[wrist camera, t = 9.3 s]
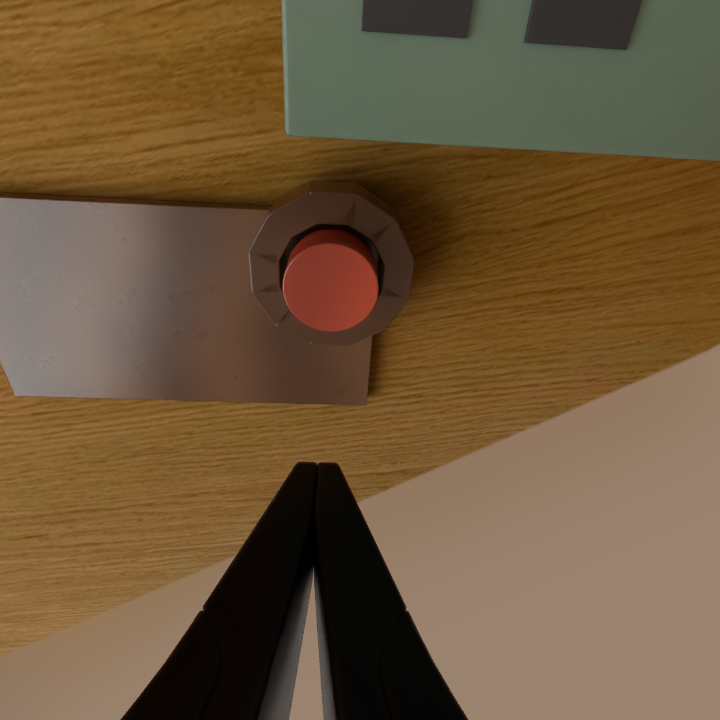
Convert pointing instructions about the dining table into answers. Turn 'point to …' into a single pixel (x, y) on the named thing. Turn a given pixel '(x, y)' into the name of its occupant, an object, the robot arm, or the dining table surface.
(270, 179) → the dining table surface
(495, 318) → the dining table surface
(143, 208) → the panel
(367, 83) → the toaster
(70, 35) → the dining table surface
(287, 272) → the button
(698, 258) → the dining table surface
